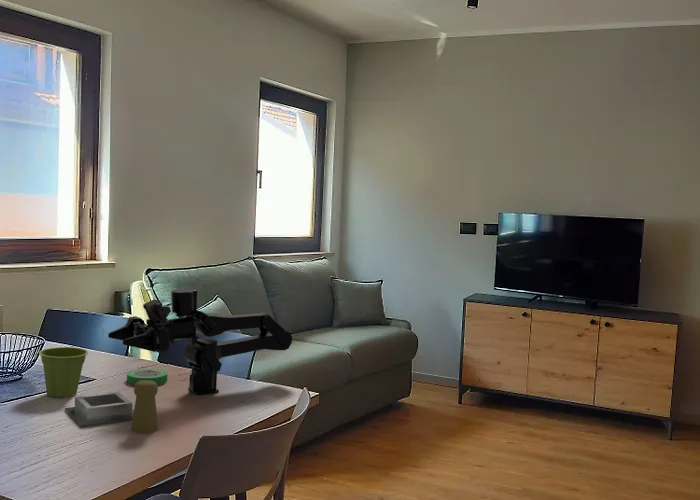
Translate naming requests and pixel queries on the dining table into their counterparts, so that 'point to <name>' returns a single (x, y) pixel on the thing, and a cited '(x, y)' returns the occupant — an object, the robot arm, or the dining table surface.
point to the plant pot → (62, 370)
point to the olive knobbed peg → (145, 407)
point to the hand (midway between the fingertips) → (115, 338)
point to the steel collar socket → (101, 409)
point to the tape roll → (147, 376)
